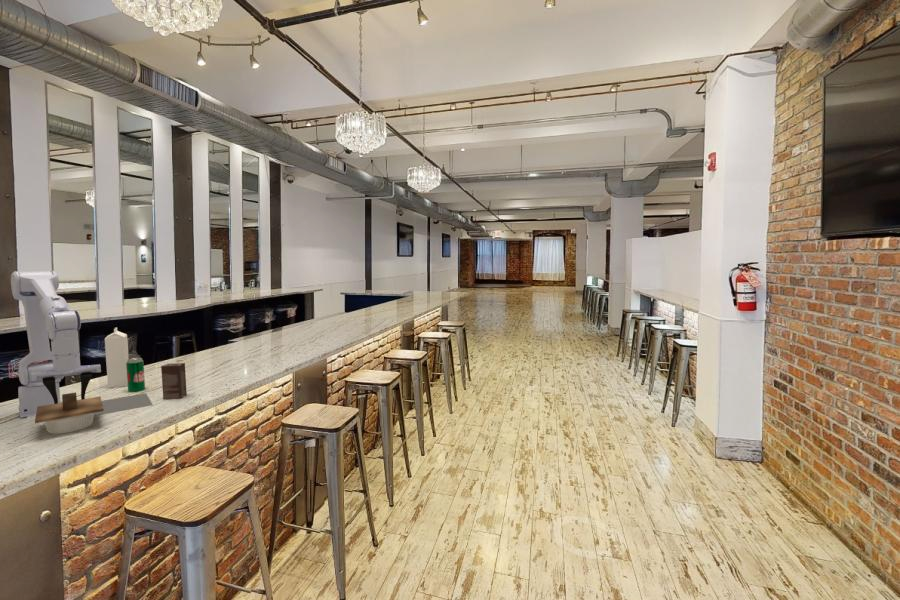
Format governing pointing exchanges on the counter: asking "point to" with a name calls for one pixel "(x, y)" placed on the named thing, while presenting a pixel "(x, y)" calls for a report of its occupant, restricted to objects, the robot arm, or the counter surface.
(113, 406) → the mat
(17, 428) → the counter surface
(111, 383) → the milk
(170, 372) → the box
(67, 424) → the ramekin
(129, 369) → the soda can
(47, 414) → the lid
